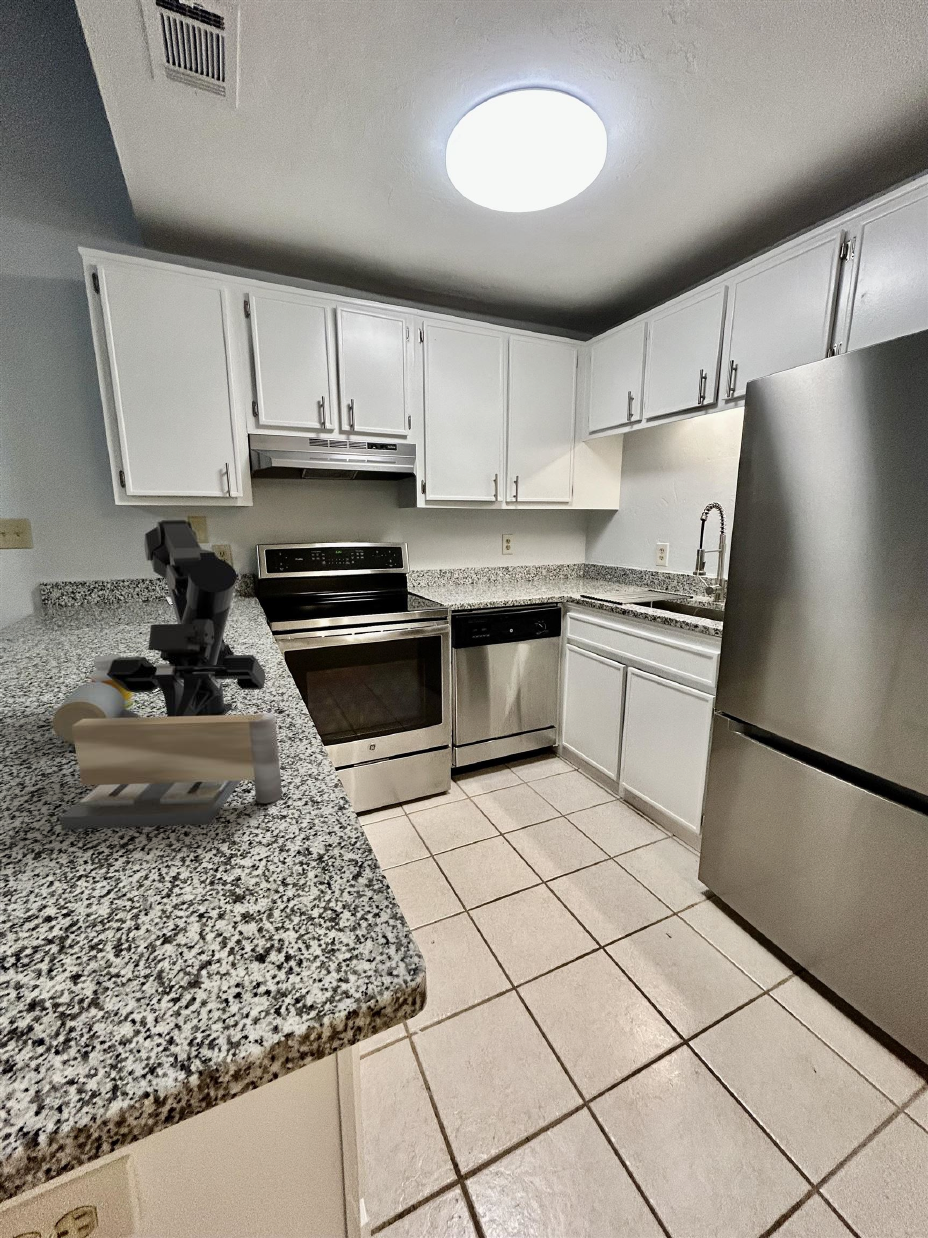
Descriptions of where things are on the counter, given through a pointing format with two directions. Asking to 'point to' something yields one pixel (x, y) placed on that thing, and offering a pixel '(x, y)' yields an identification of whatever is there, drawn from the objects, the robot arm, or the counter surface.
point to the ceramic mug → (89, 707)
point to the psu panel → (149, 805)
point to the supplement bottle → (102, 677)
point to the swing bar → (180, 751)
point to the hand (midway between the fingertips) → (173, 733)
